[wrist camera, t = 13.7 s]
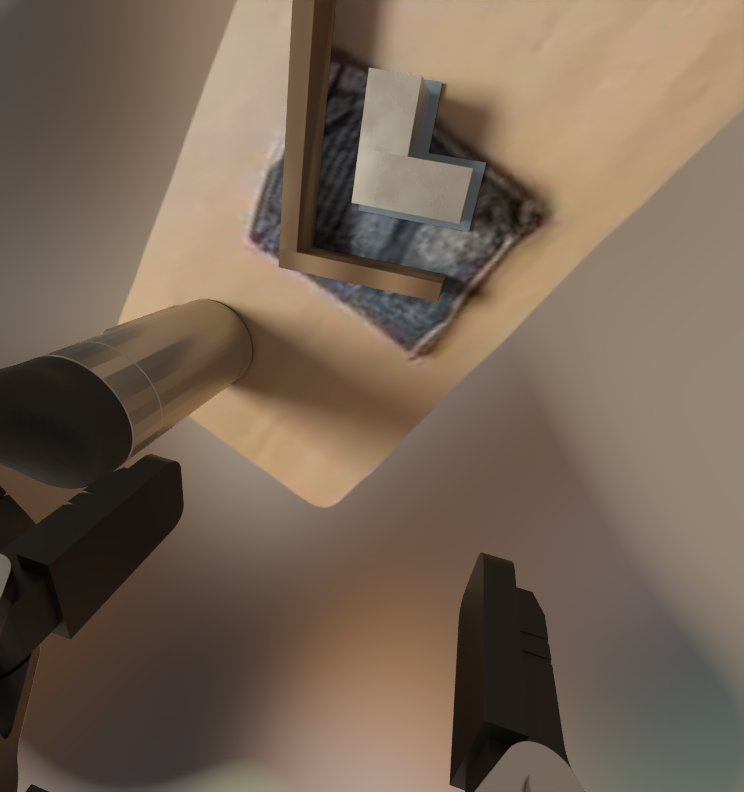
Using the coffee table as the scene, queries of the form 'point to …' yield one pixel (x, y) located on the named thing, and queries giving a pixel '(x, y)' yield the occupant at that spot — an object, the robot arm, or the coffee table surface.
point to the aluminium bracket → (404, 153)
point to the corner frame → (304, 167)
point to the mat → (424, 154)
